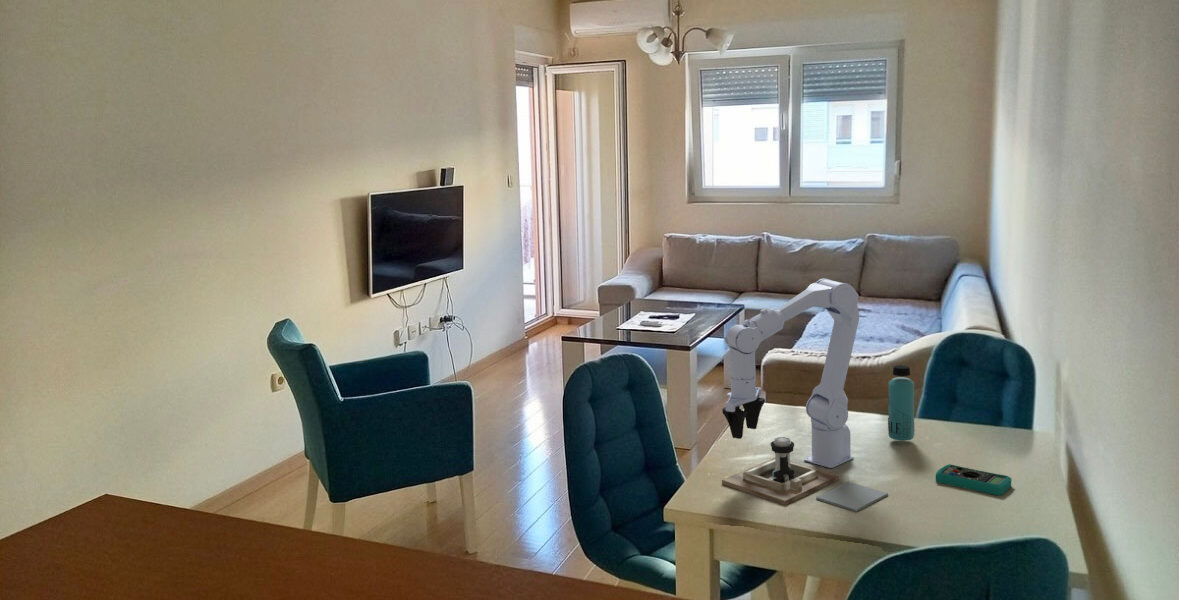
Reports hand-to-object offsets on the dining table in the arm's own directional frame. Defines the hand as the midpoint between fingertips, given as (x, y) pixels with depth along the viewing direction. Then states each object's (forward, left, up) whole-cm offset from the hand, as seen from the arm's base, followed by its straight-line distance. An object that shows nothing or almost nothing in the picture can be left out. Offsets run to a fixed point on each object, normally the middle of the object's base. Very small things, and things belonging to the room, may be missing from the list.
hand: (744, 433), depth 214 cm
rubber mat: (-5, +26, -10) cm, 28 cm away
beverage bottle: (-43, +15, -10) cm, 47 cm away
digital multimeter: (-29, +41, -11) cm, 51 cm away
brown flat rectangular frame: (-2, +9, -10) cm, 14 cm away
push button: (-2, +9, -10) cm, 14 cm away
